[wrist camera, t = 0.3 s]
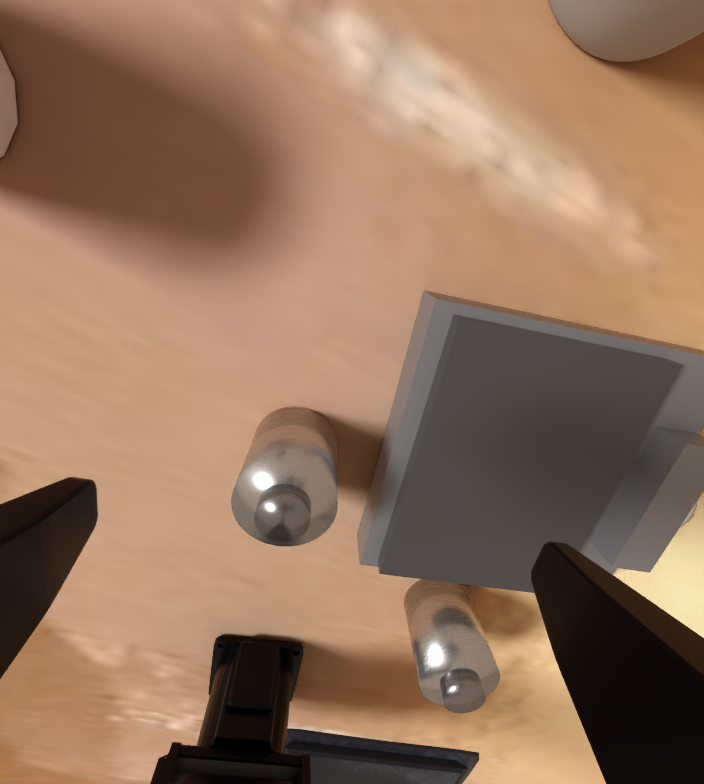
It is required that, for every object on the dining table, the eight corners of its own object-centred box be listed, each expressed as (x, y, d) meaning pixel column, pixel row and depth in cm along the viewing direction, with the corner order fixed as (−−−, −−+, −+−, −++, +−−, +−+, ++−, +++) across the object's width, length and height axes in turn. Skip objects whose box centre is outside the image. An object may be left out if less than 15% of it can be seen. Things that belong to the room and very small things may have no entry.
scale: (581, 564, 28) (624, 622, 24) (357, 534, 26) (361, 591, 22) (703, 350, 22) (787, 378, 18) (423, 290, 20) (446, 306, 16)
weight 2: (457, 625, 30) (490, 728, 24) (396, 619, 29) (413, 722, 23) (478, 579, 28) (518, 677, 22) (413, 571, 27) (436, 669, 21)
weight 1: (328, 483, 24) (326, 568, 18) (250, 471, 24) (221, 555, 18) (343, 414, 22) (347, 483, 16) (259, 399, 22) (231, 465, 16)
